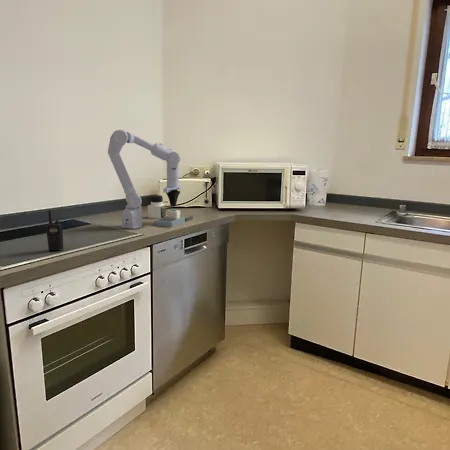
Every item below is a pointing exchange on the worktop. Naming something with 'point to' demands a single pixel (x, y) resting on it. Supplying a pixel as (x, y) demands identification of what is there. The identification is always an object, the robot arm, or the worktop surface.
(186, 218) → the bracket
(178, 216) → the plug
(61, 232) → the two-way radio
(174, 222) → the port panel
